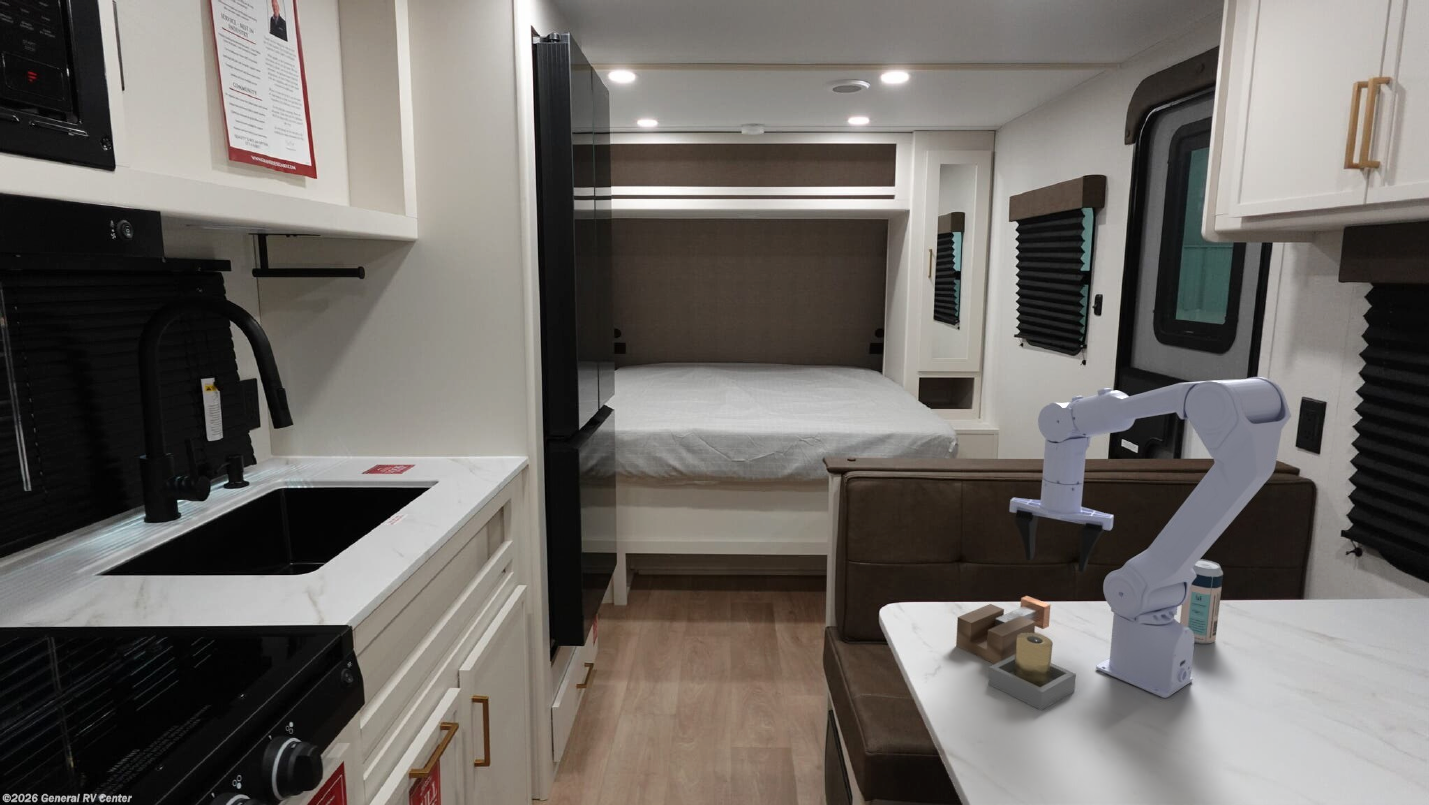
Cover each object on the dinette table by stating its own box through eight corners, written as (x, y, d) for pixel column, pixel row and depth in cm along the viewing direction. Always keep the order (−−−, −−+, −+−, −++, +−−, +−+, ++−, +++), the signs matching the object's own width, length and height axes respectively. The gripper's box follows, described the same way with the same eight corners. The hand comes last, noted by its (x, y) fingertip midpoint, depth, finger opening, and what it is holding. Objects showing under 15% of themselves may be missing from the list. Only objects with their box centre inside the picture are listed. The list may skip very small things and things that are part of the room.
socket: (1074, 691, 102) (1075, 673, 101) (1040, 710, 97) (1042, 692, 97) (1021, 667, 108) (1022, 650, 108) (988, 683, 104) (989, 666, 103)
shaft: (1048, 626, 118) (1050, 604, 117) (1012, 643, 112) (1013, 620, 112) (1025, 617, 121) (1027, 595, 121) (988, 633, 116) (989, 611, 115)
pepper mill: (1055, 684, 102) (1059, 641, 101) (1037, 694, 100) (1041, 650, 99) (1025, 670, 106) (1028, 629, 105) (1006, 679, 103) (1010, 637, 102)
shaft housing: (1033, 650, 113) (1035, 621, 112) (1000, 666, 108) (1002, 636, 107) (988, 631, 119) (990, 603, 118) (956, 645, 114) (957, 617, 114)
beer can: (1205, 631, 119) (1213, 558, 117) (1222, 646, 114) (1230, 570, 112) (1172, 630, 119) (1180, 557, 117) (1188, 645, 114) (1196, 569, 112)
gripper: (1006, 477, 117) (1000, 561, 120) (1109, 494, 109) (1101, 583, 111) (1019, 468, 123) (1013, 548, 125) (1119, 483, 114) (1111, 569, 117)
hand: (1055, 564), depth 119 cm, fingers open, 7 cm apart
